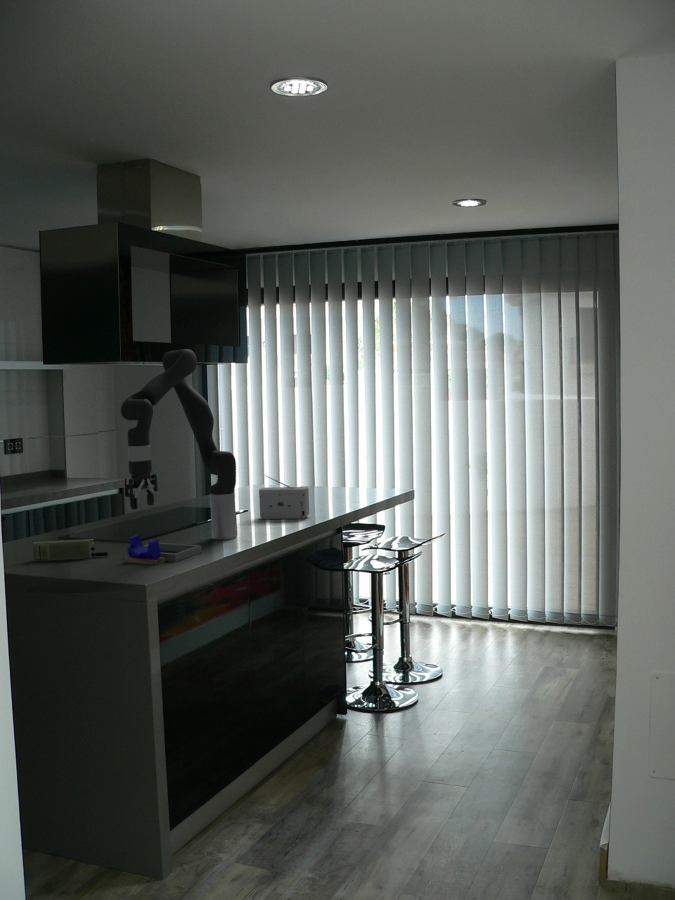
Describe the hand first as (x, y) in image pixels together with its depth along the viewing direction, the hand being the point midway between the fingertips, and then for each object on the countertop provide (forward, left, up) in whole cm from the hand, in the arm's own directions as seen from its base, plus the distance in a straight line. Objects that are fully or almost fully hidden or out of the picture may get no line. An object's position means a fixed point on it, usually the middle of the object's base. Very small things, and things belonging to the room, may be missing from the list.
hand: (142, 507), depth 286 cm
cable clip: (0, 0, -17) cm, 17 cm away
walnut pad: (0, 0, -19) cm, 19 cm away
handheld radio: (+4, -29, -19) cm, 35 cm away
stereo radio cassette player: (-90, +3, -19) cm, 92 cm away
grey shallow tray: (-11, 0, -19) cm, 22 cm away
